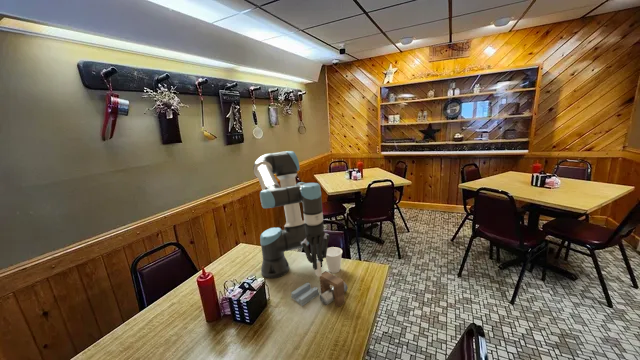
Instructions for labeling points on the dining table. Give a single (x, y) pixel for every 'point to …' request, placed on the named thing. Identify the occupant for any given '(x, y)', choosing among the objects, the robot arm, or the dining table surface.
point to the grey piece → (330, 295)
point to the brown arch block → (336, 282)
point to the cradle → (304, 294)
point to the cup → (333, 259)
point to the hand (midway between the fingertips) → (318, 274)
